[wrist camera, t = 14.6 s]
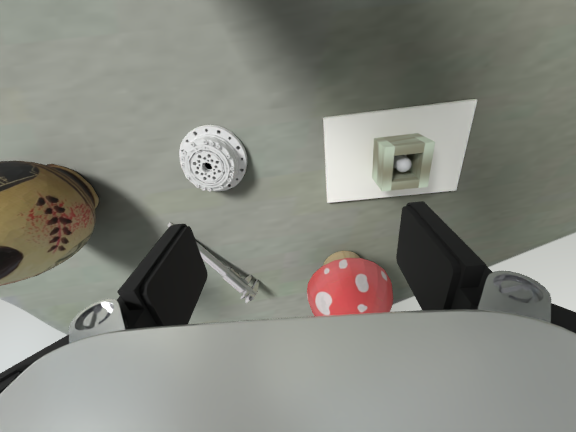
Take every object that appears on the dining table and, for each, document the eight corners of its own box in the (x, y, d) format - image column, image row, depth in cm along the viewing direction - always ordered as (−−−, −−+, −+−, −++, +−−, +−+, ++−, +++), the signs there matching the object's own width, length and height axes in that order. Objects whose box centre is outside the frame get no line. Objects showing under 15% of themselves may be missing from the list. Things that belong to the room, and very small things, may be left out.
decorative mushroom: (333, 293, 52) (346, 366, 39) (290, 255, 48) (288, 324, 35) (389, 260, 48) (425, 330, 35) (348, 214, 43) (371, 276, 30)
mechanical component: (239, 195, 42) (255, 137, 37) (234, 207, 38) (250, 145, 33) (179, 176, 40) (187, 114, 36) (167, 187, 37) (174, 119, 32)
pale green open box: (374, 138, 35) (385, 147, 31) (417, 133, 35) (435, 141, 31) (372, 177, 38) (381, 191, 34) (412, 173, 38) (427, 186, 34)
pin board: (322, 117, 35) (327, 124, 30) (472, 98, 34) (502, 103, 29) (326, 200, 42) (331, 216, 37) (452, 187, 40) (474, 203, 35)
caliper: (259, 279, 51) (255, 303, 46) (256, 282, 52) (252, 306, 46) (171, 221, 45) (153, 241, 39) (167, 225, 45) (150, 246, 40)
